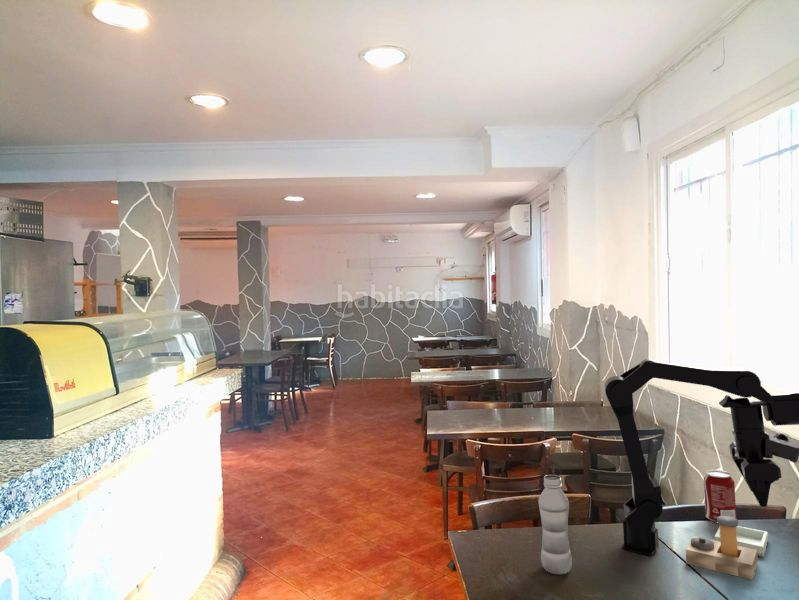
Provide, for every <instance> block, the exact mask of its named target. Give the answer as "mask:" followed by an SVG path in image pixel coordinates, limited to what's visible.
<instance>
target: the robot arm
mask: <svg viewBox="0 0 799 600" xmlns="http://www.w3.org/2000/svg"><path fill="white" fill-rule="evenodd" d="M653 379H659V380H667V381H673V382H679V383H685V384H686V383H687V384H694V385H700V386H706V387H710V388H714V389H716V390H720V391H723V392H725V393H729V394H731V395H735V396H738V397H736V398H735V397H733V398H732V397H731V396H730V395H729V394H725V396H724V398H723V399H721V400H720V401H719V402H718V404H719V405H720V406H721V407H722V408H724V409H725V408H727V409H728V408H730V414H731V415H730V416H731V422H732V428H731V432H732V435H733V436H734V441H731V443H730V444H729V446H728V448H729V453H730V455H731V458H732V460H733V462H734V464H735V465H736V467H737V469H738V470H739V473H740V474H741V476H742V478H743V479H744V481H745V483H746V485H747V486H748V489H750V492H752V493H753V495H754V497H755V500H756V501H757V502H758V504H759V506H760V507H762V508H767V506H768V501H769V495H770V490H771V485H772V484H773V483H774V482H777V481H779V480H780V479H781V478H782V472H781V471H782V470H781V467H780V466H779V465H778V464H777V463H776V462H775V461H773V460H772V459H774V456H775V457H778V458H781V459H784V460H788V461H790V463H791V462H792V463H795V464H797V463H798V461H799V460H798V459H799V445H798V444H796V443H794V442H793V441H790V440H789V438H788V436H787V435H786V434H784V433H780V432H777V433H776V434H775V435H774V436H770V434H769V433H767V431H766V430H765V425H764V419H765V422H770V423H771V424H772V425H773V426H797V425H798V426H799V392H797V391H787V392H782V393H771V392H770V391H767V390H766V389H765V388H764V387H763V386H762V382H761V381H762V380H761V379H760V377H759V376H758V375H757V374H756V373H755V372H753V371H751V370H748V369H746V368H744V367H743V368H742V367H738V366H737V367H716V368H715V367H713V368H712V367H711V368H710V367H709V368H706V367H702V366H701V367H699V366H693V365H685V364H679V363H673V362H671V363H670V362H667V361H666V362H664V361H658V360H654V359H650V358H646V359H643V360H642V361H641V362H640V363H638V364H637V365H635V366H633V367H632V368H630V369H628V370H626V371H625V372H623V373H622V374H620V375H612V376H610V377H609V378H608V379H606V381H605V382H604V383H605V384H604V393H605V395H606V398H607V400H608V402H609V405H610V407H611V409H612V411H613V413H614V415H615V417H616V420H617V421H618V422H617V423H618V427H619V430H620V434H621V437H622V443H623V445H624V450H625V453H626V457H627V461H628V465H629V468H630V473H631V491H632V493H631V494H632V496H631V497H630V498H629V499H628V500H627V501H626V502H625V503H623V508H624V515H625V517H624V518H623V519H622V530H623V533H622V535H623V544H622V545H621V549H622V550H626V551H630V552H634V553H638V554H641V555H646V556H648V557H649V556H650V557H651V556H653V554H654V553H655V551H657V549H658V548H659V543H660V542H659V529H658V528H656V522H655V520H657V519H658V518H660V517H661V516H662V515H663V513H664V507H663V506H666V502H665V499H664V498H663V495H662V489H661V484H660V483H659V482H660V481H659V479H658V478H656V477H655V478H651V477H650V474H649V470H648V467H647V464H646V459H645V455H644V453H643V452H644V451H643V448H642V447H643V446H642V444H641V440H640V437H639V433H638V429H637V425H636V421H635V417H634V416H635V415H634V397H633V396H634V395H633V394H634V393H636V392H637V391H638V390H640V389H641V388H642V387H643V386H644V385H645V384H647V383H648V382H649V381H651V380H653ZM749 398H755V399H756V400H751V401H750V399H749Z"/></svg>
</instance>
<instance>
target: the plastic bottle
mask: <svg viewBox="0 0 799 600" xmlns="http://www.w3.org/2000/svg"><path fill="white" fill-rule="evenodd" d="M543 486H544V489H543V490H542V492H541V494H540V495H539V497H538V502H537V503H538V507H539V508H538V509H539V513H540V520H541V527H542V528H541V529H542V539H541V540H542V543H541V552H540V561H541V566H542V567H543V568H544V570H545V571H546V572H547V571H548V572H547V573H549V572H550V573H549V574H553V575H558V576H559V575H566V574H568V573H569V572H570V570H571V569H572V565H573V564H572V563H573V558H572V553H571V549H570V542H569V534H568V529H569V528H568V527H569V526H568V524H569V523H568V520H569V509H570V502H569V500H568V496H567V495H566V494H565V492H564V491H563V489H562V487H563V483H562V478H561V476H560V475H557V474H546V475H544V476H543ZM567 572H568V573H567Z"/></svg>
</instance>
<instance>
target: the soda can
mask: <svg viewBox="0 0 799 600" xmlns="http://www.w3.org/2000/svg"><path fill="white" fill-rule="evenodd" d="M705 474H706V475H704V477H703V491H704V494H703V495H704V514H705V518H707V519H708V520H710V521H711V522H713V521H714V522H713V523H715V522H717V517H719V516H729V517H733V518H735V519H737V506H736V505H737V503H736V488H735V487H736V486H735V480H734V479H733V478H732V474H731V473H730V472H728V471H724V470H720V469H719V470H717V469H709V470H706V472H705Z"/></svg>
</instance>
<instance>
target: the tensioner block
mask: <svg viewBox="0 0 799 600" xmlns="http://www.w3.org/2000/svg"><path fill="white" fill-rule="evenodd" d="M737 551H738V557H733V556H729V555H725V554H721V542H719V541H715V539H710V538H709V539H708V538H705V537H700V536H696V535H693V537H692V538H691V539H690V542H688V545H687V546H686V548H685V564H687V565H692V566H695V567H700V568H704V569H708V570H712V571H716V572H719V573H724V574H728V575H731V576H736V577H739V578H743V579H746V580H752V581H754V577H755V575H756V571H757V568H758V565H759V563H758V562H759V561H758V556H757V550H755V549H750V548H746V547H741V546H737Z"/></svg>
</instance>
